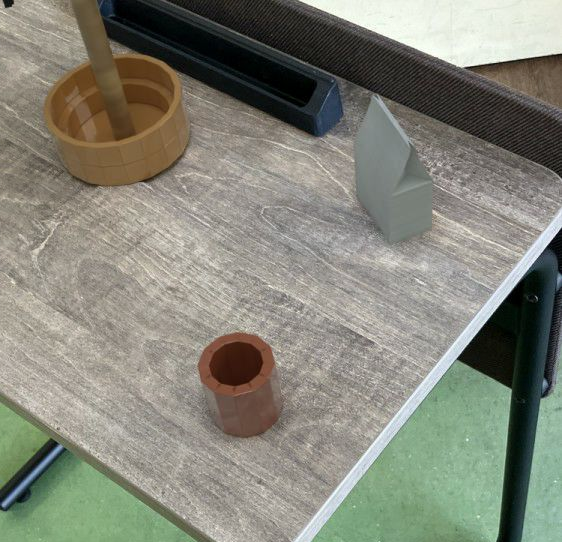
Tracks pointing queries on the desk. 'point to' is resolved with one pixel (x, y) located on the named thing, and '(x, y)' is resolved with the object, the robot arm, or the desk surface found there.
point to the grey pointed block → (391, 176)
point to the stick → (104, 67)
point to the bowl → (97, 130)
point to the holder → (241, 384)
